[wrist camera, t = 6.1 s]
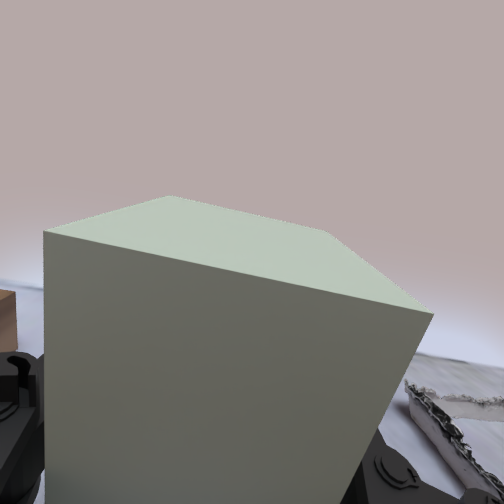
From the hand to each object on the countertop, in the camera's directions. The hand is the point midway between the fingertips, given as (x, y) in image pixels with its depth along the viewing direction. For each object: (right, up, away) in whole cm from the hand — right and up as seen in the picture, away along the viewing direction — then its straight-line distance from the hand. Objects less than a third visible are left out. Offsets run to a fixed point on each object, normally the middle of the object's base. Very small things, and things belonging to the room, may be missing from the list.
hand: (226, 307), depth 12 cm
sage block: (-1, -7, -3) cm, 8 cm away
